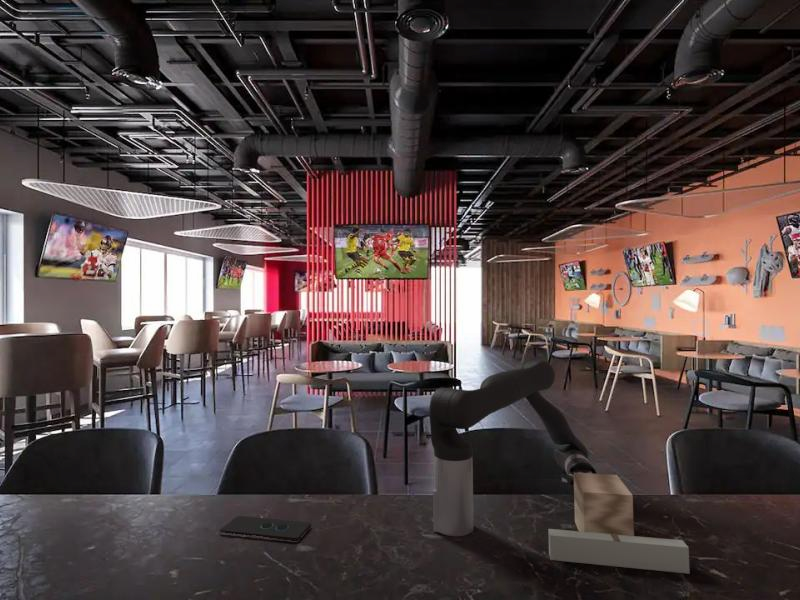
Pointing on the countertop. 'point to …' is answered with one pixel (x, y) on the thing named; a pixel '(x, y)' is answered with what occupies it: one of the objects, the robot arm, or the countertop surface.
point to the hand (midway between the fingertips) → (592, 492)
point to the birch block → (602, 504)
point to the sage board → (619, 550)
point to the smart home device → (267, 527)
